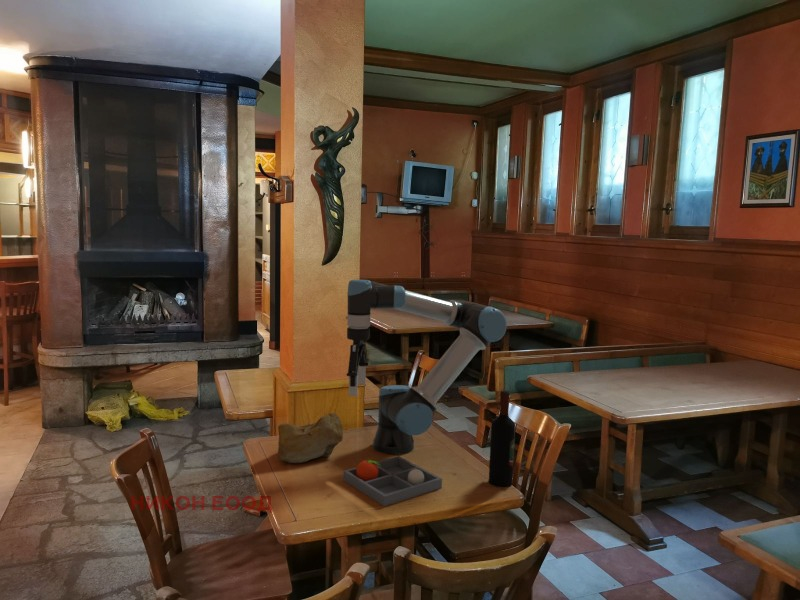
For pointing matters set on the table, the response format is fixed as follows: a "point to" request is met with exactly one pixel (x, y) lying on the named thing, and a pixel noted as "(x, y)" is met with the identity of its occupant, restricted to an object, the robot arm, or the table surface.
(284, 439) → the rough brown rock
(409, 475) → the cream egg
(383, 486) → the divided tray
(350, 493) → the table surface
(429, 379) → the robot arm
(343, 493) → the table surface
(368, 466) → the clementine
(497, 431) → the wine bottle
